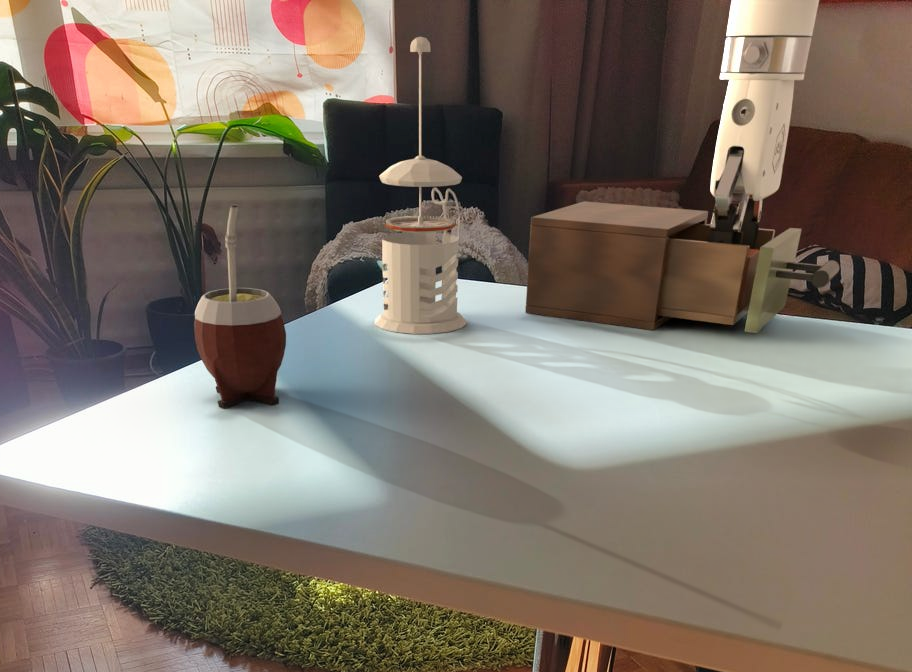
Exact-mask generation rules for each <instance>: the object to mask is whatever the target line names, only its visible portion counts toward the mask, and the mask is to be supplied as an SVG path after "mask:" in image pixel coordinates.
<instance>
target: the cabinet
mask: <svg viewBox="0 0 912 672" xmlns="http://www.w3.org/2000/svg"><path fill="white" fill-rule="evenodd" d="M708 215H709V211H708V210H699V209H698V210H697V209H687V208H685V209H684V208H672V207H662V206H661V207H659V206H646V205H633V204H623V203H622V204H621V203H608V202H597V201H581V202H578V203H574V204H571V205H567V206H565V207H560V208H558V209H557V208H556V209H554V210H551V211H548V212H544V213H541V214H538V215H534V216H531V218H530V229H529V230H530V232H529V246H528V247H529V248H528V265H527V278H526V279H527V282H526V298H525V309H524V310H525V313H526V314H532V315H541V316H545V317H546V316H548V317H553V318H554V317H555V318H561V319H568V320H569V319H570V320H575V321H576V320H577V321H584V322H592V323H597V324H598V323H599V324H605V325H612V326H620V327H626V328H634V329H642V330H648V331H655V330H656V329H658V328H659V327H660V326H663V324H665V323H666V322H668V321H670V320H671V319H672V318H673V317H666V316H658V310H659V303H660V296H661V288H662V281H663V274H664V267H665V260H666V253H667V246H668V239H669V238H668V237H669V236H671V235H673V234H675V233H678V232H680V231H682V230H684V229H686V228H688V227H691V226H693V225H695V224H697V223H700V224H708V223H707V222H708Z"/></svg>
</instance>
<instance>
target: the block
mask: <svg viewBox="0 0 912 672" xmlns="http://www.w3.org/2000/svg"><path fill="white" fill-rule="evenodd" d="M759 253H760V250H757V249H749V253H748V258H747V263H746V269H745V274H744V279H743V285H742V290H741V295H740V301H739V306H738V309H741V308H743V307H744V306H745V305H746V304H747V303H749V302H750V300H751V295H752V290H753V284H754V279H755V274H756V269H757V264H758V259H759Z"/></svg>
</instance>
